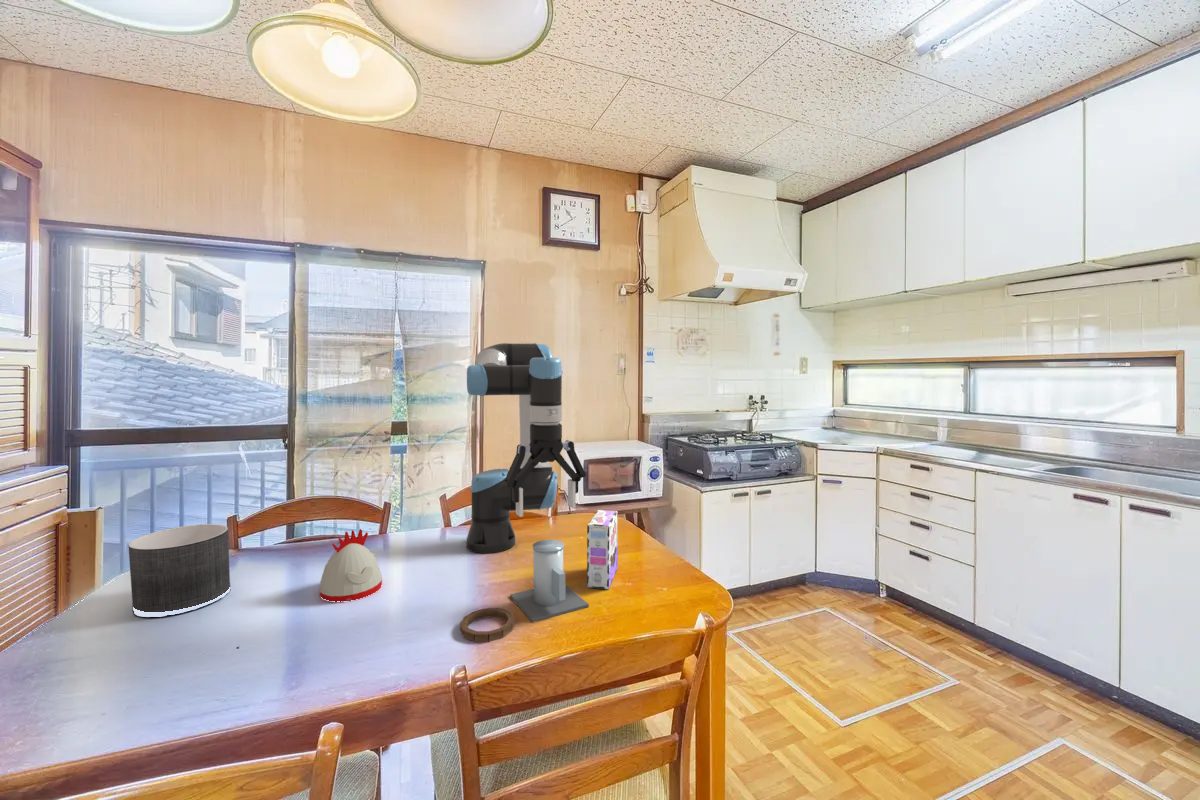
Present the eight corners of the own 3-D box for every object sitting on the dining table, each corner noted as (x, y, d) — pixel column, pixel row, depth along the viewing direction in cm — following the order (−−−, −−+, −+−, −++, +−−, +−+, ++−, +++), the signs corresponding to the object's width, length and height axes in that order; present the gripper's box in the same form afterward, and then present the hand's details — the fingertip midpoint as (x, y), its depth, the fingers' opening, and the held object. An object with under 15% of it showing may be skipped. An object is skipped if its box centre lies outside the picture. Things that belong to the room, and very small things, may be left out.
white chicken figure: (391, 589, 121) (389, 530, 121) (331, 608, 111) (329, 545, 111) (368, 573, 131) (367, 519, 130) (311, 590, 121) (309, 531, 120)
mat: (510, 596, 117) (510, 594, 117) (562, 583, 124) (562, 581, 124) (532, 622, 105) (532, 619, 105) (588, 606, 112) (588, 604, 112)
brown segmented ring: (455, 622, 105) (455, 615, 105) (503, 609, 111) (503, 603, 110) (468, 647, 96) (468, 640, 95) (521, 632, 101) (521, 625, 101)
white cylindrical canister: (528, 596, 116) (527, 543, 115) (556, 589, 120) (555, 537, 119) (547, 616, 106) (547, 558, 106) (577, 608, 110) (577, 552, 109)
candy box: (609, 590, 121) (609, 525, 120) (586, 588, 122) (586, 524, 121) (618, 568, 134) (618, 510, 133) (597, 566, 135) (597, 508, 134)
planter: (246, 592, 120) (243, 529, 119) (156, 626, 104) (152, 554, 103) (206, 579, 127) (203, 520, 126) (116, 609, 111) (112, 542, 110)
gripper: (500, 428, 104) (501, 524, 106) (599, 421, 117) (599, 507, 119) (489, 424, 111) (490, 514, 113) (584, 418, 123) (584, 499, 125)
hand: (546, 510), depth 116 cm, fingers open, 13 cm apart
